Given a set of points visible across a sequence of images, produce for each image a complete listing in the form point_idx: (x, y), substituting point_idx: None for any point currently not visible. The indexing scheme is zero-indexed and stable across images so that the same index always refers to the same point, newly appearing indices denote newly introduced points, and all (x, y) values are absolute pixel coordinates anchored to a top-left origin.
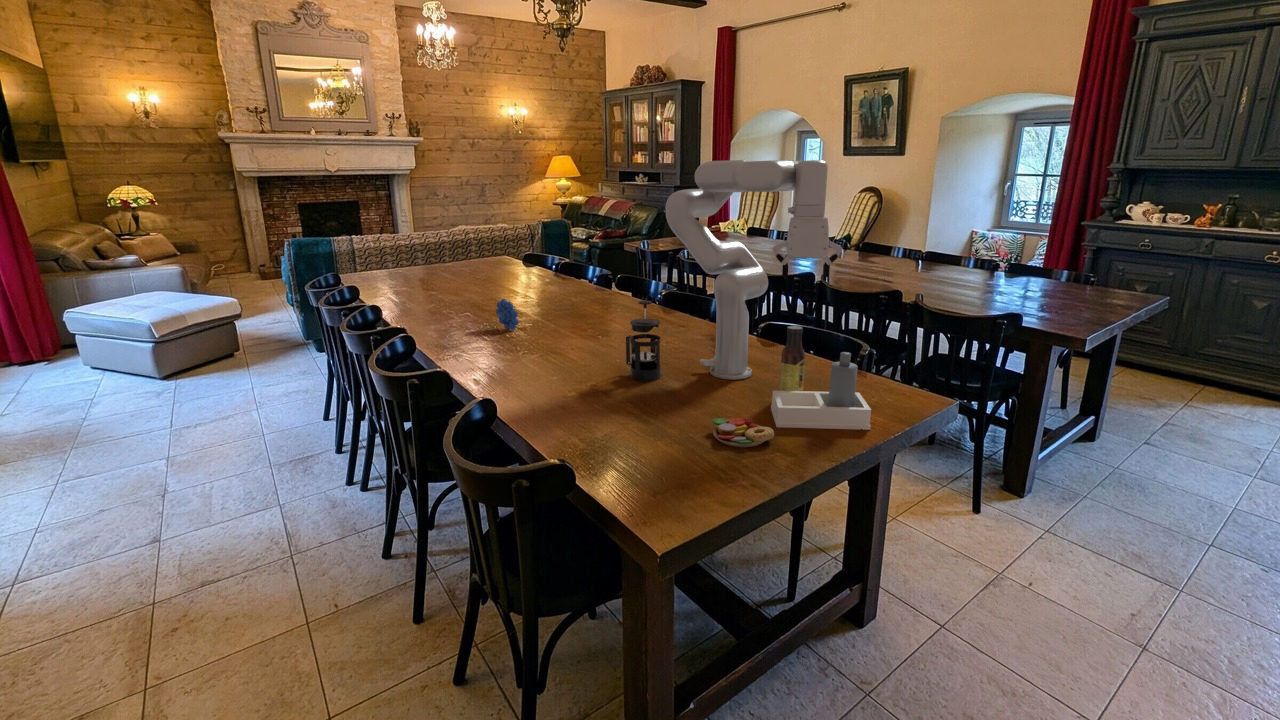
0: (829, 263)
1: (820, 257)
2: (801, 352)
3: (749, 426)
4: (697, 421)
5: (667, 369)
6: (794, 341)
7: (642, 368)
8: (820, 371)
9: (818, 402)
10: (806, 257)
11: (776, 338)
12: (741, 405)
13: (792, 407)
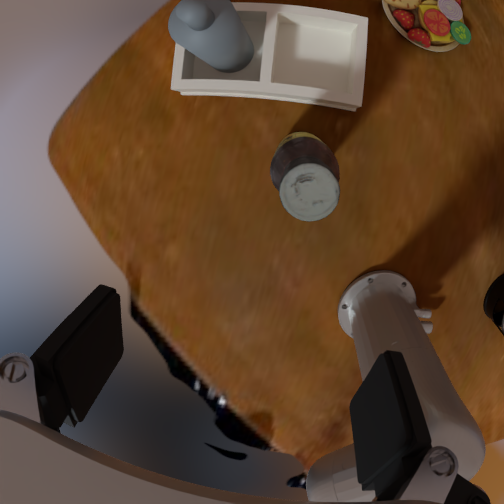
0: (15, 367)
1: (34, 425)
2: (287, 151)
3: (412, 18)
4: (480, 82)
5: (465, 326)
6: (313, 159)
7: (500, 318)
8: (200, 302)
9: (275, 35)
10: (232, 498)
11: (240, 435)
12: (406, 134)
13: (338, 13)
